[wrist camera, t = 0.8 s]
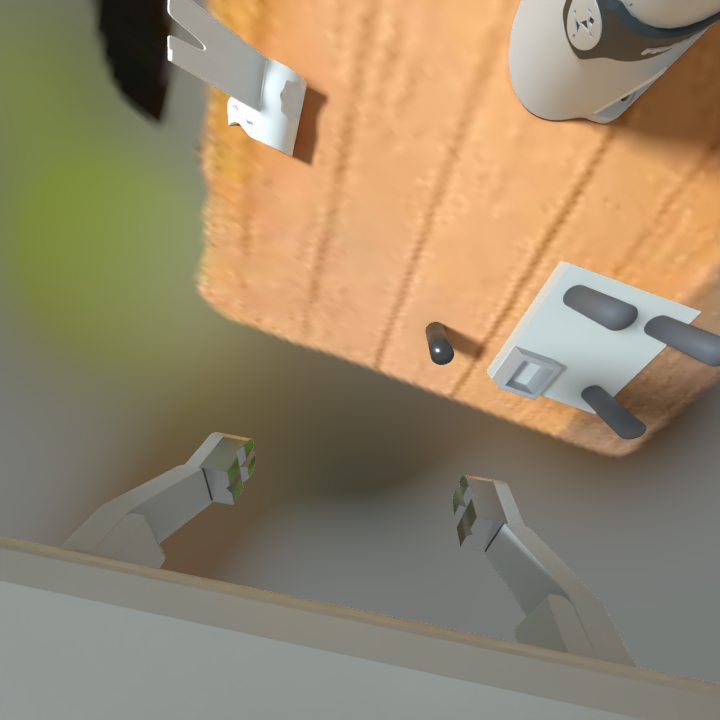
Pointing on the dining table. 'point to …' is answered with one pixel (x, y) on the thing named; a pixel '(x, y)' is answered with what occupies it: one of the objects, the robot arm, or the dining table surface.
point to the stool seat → (595, 343)
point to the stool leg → (439, 344)
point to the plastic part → (240, 77)
